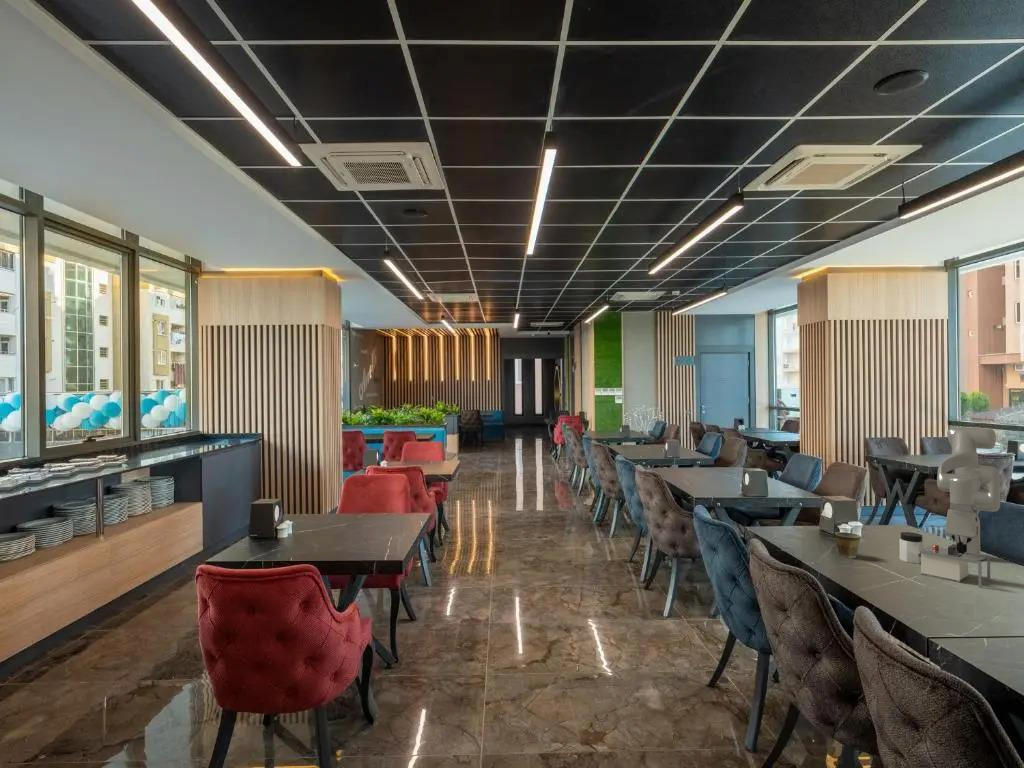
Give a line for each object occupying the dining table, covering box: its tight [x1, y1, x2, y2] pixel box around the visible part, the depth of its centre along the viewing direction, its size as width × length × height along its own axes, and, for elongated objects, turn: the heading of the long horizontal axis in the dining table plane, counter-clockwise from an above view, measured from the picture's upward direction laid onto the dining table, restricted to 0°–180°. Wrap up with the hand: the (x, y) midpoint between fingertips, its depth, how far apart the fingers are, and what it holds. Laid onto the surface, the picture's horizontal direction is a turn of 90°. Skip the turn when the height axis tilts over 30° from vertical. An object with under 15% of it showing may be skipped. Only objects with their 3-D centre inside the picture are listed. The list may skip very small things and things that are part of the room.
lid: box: [921, 543, 968, 558], centre depth 241 cm, size 11×13×4 cm
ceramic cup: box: [834, 531, 861, 559], centre depth 271 cm, size 13×10×10 cm
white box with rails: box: [918, 546, 991, 589], centre depth 239 cm, size 14×22×10 cm, turn 39°
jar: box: [899, 531, 924, 565], centre depth 262 cm, size 9×8×12 cm
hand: (961, 552), depth 237 cm, fingers closed
